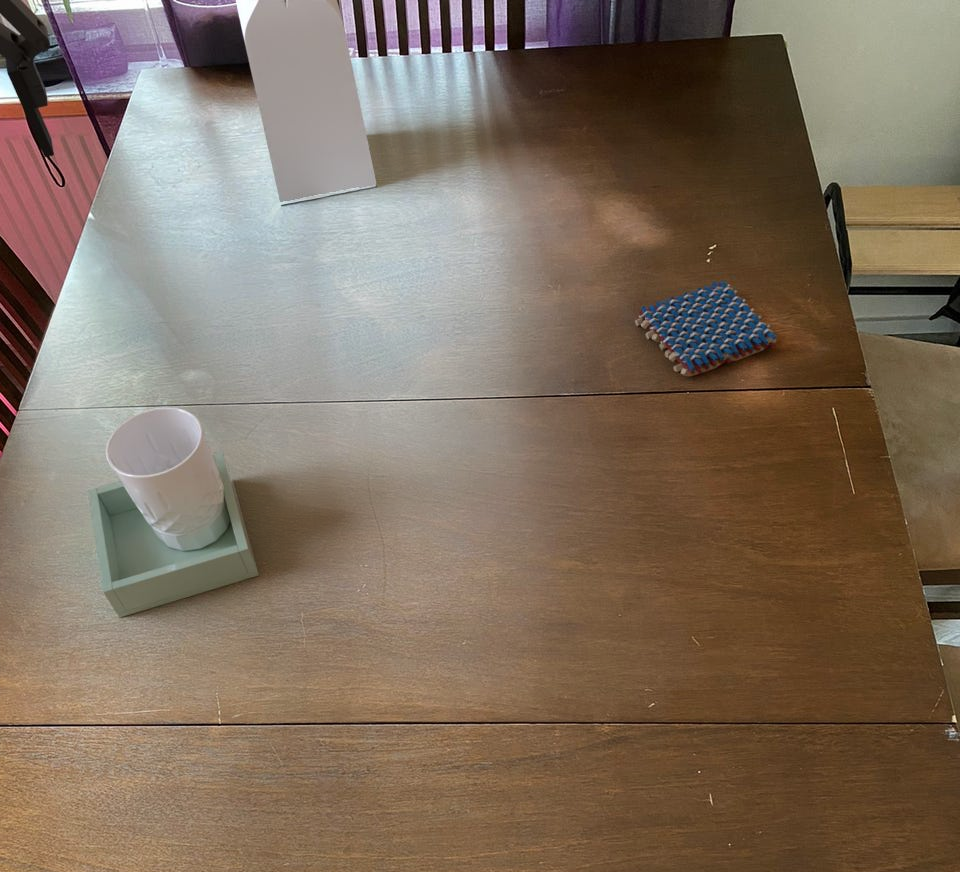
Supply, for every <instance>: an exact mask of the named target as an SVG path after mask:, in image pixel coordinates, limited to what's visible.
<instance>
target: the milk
mask: <svg viewBox="0 0 960 872" xmlns="http://www.w3.org/2000/svg"><path fill="white" fill-rule="evenodd" d="M235 4H236V8H237V13H238V18H239V23H240V27H241V33H242V37H243V41H244V46H245V50H246V54H247V59H248V63H249V69H250V72H251V77H252V81H253V86H254V90H255V91H254V92H255V95H256V100H257V104H258V108H259V114H260V116H261V117H260V118H261V123H262V127H263V132H264V137H265V141H266V145H267V150H268V153H269V158H270V164H271V167H272V173H273V177H274V181H275V187H276V190H277V195H278V199H279V203H280V202H283V201H290V200H295V199H300V198H303V197H309V196H314V195H318V194H326V193H329V192H336V191H340V190H346V189H350V188H356V187H359V188H362V187H367V186H373V185H376V184H377V179H376V175H375V170H374V166H373V165H374V164H373V161H372V156H371V150H370V146H369V140H368V136H367V131H366V127H365V122H364V117H363V112H362V107H361V103H360V97H359V92H358V88H357V82H356V77H355V73H354V68H353V63H352V58H351V55H350V49H349V44H348V39H347V35H346V30H345V25H344V21H343V18H342V12H341V8H340V6H339V3H338V0H235Z"/></svg>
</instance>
